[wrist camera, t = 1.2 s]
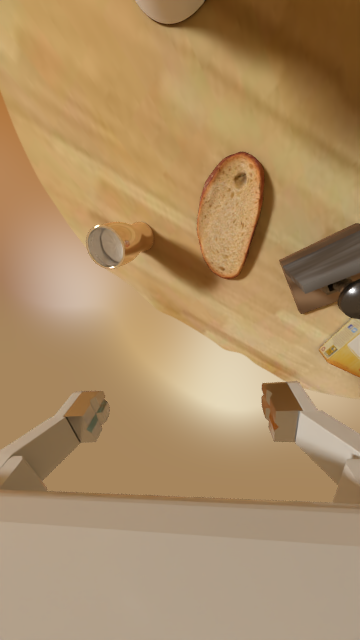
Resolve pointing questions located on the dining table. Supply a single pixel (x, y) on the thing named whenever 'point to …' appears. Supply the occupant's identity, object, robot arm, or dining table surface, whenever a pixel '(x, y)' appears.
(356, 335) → the cereal box
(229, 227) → the bread slice
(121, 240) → the beer glass
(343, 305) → the dark grey rounded piece
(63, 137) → the dining table surface
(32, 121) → the dining table surface
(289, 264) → the stand
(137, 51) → the dining table surface
